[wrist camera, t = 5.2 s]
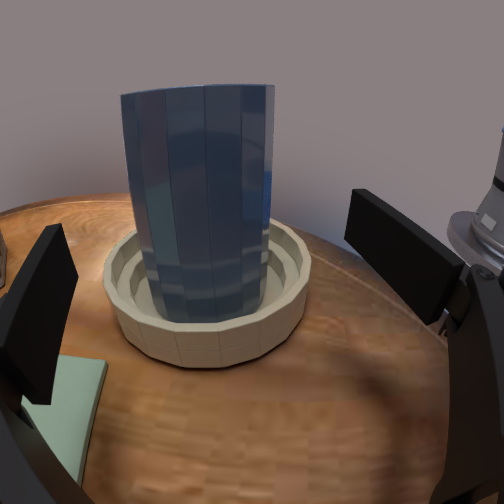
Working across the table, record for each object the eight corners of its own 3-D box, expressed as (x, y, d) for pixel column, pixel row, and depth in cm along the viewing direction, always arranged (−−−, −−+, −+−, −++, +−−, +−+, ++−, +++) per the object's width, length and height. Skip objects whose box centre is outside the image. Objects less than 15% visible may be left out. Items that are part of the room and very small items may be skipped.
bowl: (287, 241, 28) (290, 207, 26) (324, 364, 16) (337, 324, 14) (140, 244, 27) (134, 212, 25) (93, 364, 15) (71, 326, 13)
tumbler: (259, 256, 25) (264, 85, 18) (271, 329, 18) (286, 85, 11) (163, 258, 25) (144, 91, 17) (141, 330, 18) (93, 99, 10)
